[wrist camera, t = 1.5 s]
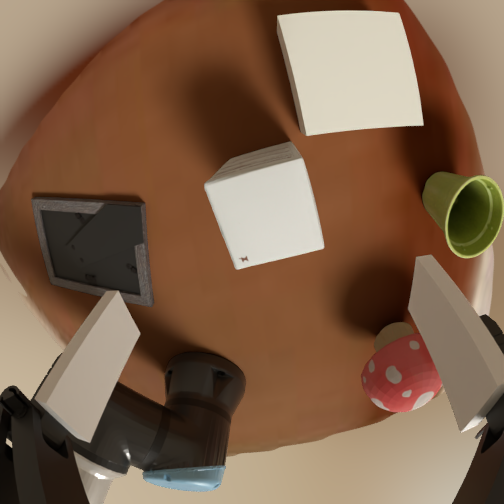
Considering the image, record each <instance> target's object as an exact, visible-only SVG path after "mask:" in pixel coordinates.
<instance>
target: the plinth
mask: <svg viewBox="0 0 504 504" xmlns="http://www.w3.org/2000/svg"><path fill="white" fill-rule="evenodd" d="M277 35H278V38H279V42H280V46H281V49H282V53H283V57H284V61H285V65H286V69H287V73H288V77H289V81H290V85H291V90H292V94H293V99H294V103H295V108H296V112H297V117H298V122H299V127H300V132H302V133H303V134H305V135H306V136H309V135H316V134H323V133H331V132H339V131H348V130H358V129H369V128H382V127H398V126H424V125H423V117H422V109H421V102H420V96H419V90H418V85H417V79H416V74H415V70H414V65H413V61H412V57H411V52H410V49H409V45H408V41H407V37H406V34H405V30H404V27H403V24H402V21H401V18H400V15H399V13H392V12H379V11H318V12H305V13H295V14H287V15H279V16H277Z"/></svg>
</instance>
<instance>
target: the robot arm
mask: <svg viewBox="0 0 504 504" xmlns="http://www.w3.org/2000/svg"><path fill="white" fill-rule="evenodd" d="M408 310H409V312H410V314H411V316H412V318H413V320H414V322H415V324H416V326H417V328H418V330H419V332H420V334H421V336H422V338H423V340H424V342H425V344H426V347H427V349H428V351H429V353H430V355H431V358H432V360H433V362H434V364H435V367H436V369H437V371H438V374H439V376H440V379H441V381H442V383H443V386H444V388H445V391H446V394H447V396H448V399H449V401H450V404H451V407H452V409H453V412H454V415H455V418H456V421H457V424H458V427H459V430H460V433H461V432H463V431H466V430H468V429H470V428H472V427H475V426H477V425H478V424H479V423H480V422H481V421H482V419H484V417H485V416H486V419H487V422H488V423H487V424H486V425H485V426H484V427H483V428H482V429H481V430H480V431H479V432H478V433H477V435H476V437H475V438H476V439H477V438H478V437H479V436H480V435H481V434H482V433H483V434H482V437H481V440H480V442H479V445H478V448H477V451H476V453H475V456H474V458H473V461H472V463H471V466H470V468H469V470H468V473H467V475H466V477H465V479H464V481H463V483H462V485H461V487H460V489H459V491H458V493H457V495H456V497H455V499H454V501H453V503H452V504H504V334H503V332H502V330H501V329H500V328H499V326H498V325H497V323H496V322H495V321H494V320H492V319H491V318H490V317H489V316H487V315H486V314H485V315H482V316H478V314H477V313H476V311H475V310H474V309H473V307H472V306H471V304H470V303H469V302H468V300H467V299H466V298H465V296H464V295H463V294H462V292H461V291H460V290H459V288H458V287H457V286H456V284H455V283H454V282H453V281H452V279H451V278H450V277H449V276H448V274H447V273H446V272H445V271H444V269H443V268H442V267H441V266H440V265H439V263H438V262H437V261H436V260H435V259H434V257H433V256H432V255H426V256H420V257H416V262H415V269H414V276H413V283H412V289H411V295H410V300H409V306H408ZM139 336H140V332H139V330H138V328H137V326H136V324H135V322H134V321H133V319H132V317H131V315H130V313H129V311H128V309H127V307H126V305H125V303H124V301H123V299H122V297H121V295H120V293H119V291H106V293H105V294H104V295H103V297H102V298H101V299H100V301H99V302H98V303H97V305H96V306H95V307H94V309H93V310H92V311H91V313H90V314H89V315H88V317H87V318H86V320H85V321H84V322H83V324H82V325H81V327H80V328H79V329H78V331H77V332H76V334H75V335H74V337H73V338H72V340H71V341H70V343H69V344H68V345H67V347H66V348H65V350H64V352H63V353H61V354H60V355H59V356H58V357H57V359H56V360H55V362H54V363H53V365H52V368H50V369H49V371H48V373H47V374H48V375H46V376H45V377H44V379H43V381H42V382H41V384H40V386H39V387H38V389H37V391H36V393H35V394H34V396H33V398H32V399H31V401H30V400H28V399H27V397H26V396H25V395H24V394H23V393H22V392H21V391H20V390H19V389H18V388H17V387H16V386H9V387H8V388H6V389H5V390H4V391H3V392H2V394H1V395H0V504H103V503H104V500H105V497H106V495H107V492H108V490H109V487H110V484H111V482H112V480H113V479H114V478H118V477H122V476H125V475H126V474H127V471H128V469H129V467H130V465H132V466H134V467H137V468H139V469H142V470H143V471H144V472H143V479H144V480H145V481H147V482H150V483H152V484H154V485H158V486H161V487H166V488H171V489H177V490H184V491H200V492H201V491H212V490H215V489H217V488H218V487H219V486H220V485H221V482H222V478H223V474H224V470H225V468H226V466H225V462H226V454H227V447H228V439H229V432H230V424H231V418H232V415H233V414H234V412H235V410H236V408H237V407H238V405H239V403H240V401H241V399H242V398H243V396H244V393H245V386H246V379H245V376H244V374H243V372H242V371H241V370H240V369H239V368H238V367H237V366H236V365H234V364H233V363H231V362H230V361H228V360H226V359H224V358H221V357H219V356H216V355H212V354H207V353H201V352H188V353H182V354H179V355H177V356H175V357H173V358H172V359H171V360H170V361H169V363H168V366H167V368H166V371H165V395H166V402H165V405H164V406H163V405H161V404H159V403H157V402H155V401H153V400H151V399H149V398H147V397H145V396H143V395H141V394H139V393H138V392H136V391H134V390H132V389H130V388H129V387H127V386H125V385H123V384H122V383H120V382H118V378H119V376H120V374H121V372H122V370H123V368H124V366H125V364H126V362H127V360H128V358H129V356H130V354H131V351H132V349H133V347H134V345H135V343H136V342H137V340H138V338H139ZM6 438H7V439H9V440H10V441H11V442H12V448H11V447H10V446H9V445H7V444H6Z"/></svg>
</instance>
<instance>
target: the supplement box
mask: <svg viewBox="0 0 504 504" xmlns="http://www.w3.org/2000/svg"><path fill="white" fill-rule="evenodd" d="M204 187H205V190H206V193H207V196H208V198H209V201H210V203H211V206H212V209H213V211H214V214H215V216H216V219H217V222H218V224H219V227H220V230H221V233H222V235H223V237H224V240H225V242H226V245H227V248H228V250H229V253H230V255H231V258H232V260H233V263H234V266H235V268H236V269H241V268H245V267H249V266H253V265H258V264H262V263H266V262H270V261H275V260H279V259H283V258H287V257H291V256H296V255H300V254H304V253H308V252H312V251H316V250H320V249H323V248H324V241H323V235H322V230H321V226H320V221H319V216H318V211H317V207H316V203H315V199H314V195H313V191H312V187H311V184H310V180H309V176H308V173H307V170H306V166H305V163H304V160H303V158H302V156H301V155H300V153H299V152H298V150H297V149H296V147H295V146H294V144H293V143H292V142H291V141H289V142H286V143H282V144H279V145H275V146H271V147H267V148H264V149H260V150H257V151H253V152H250V153H247V154H244V155H240V156H237V157H234V158H231V159H229V160H228V161H227V162H226V163H225V164H224V165H223V166H222V167H221V168H220V169H219V170H218V171H217V172H216V173H215V174H214V175H213V176H212V177H211V178H210V179H209V180H208V181H207V182H206V183H205V184H204Z"/></svg>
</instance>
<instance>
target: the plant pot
mask: <svg viewBox="0 0 504 504" xmlns="http://www.w3.org/2000/svg"><path fill="white" fill-rule="evenodd" d="M422 200H423V205H424V207H425V209H426V210H427V212H428V213H429V214H430V215H431V217H432V218H433V219H434V220H435V221H436V223H437V224H438V225H439V226H440V228H441V229H442V230H443V232H444V234H445V238H446V241H447V244H448V246H449V247H450V249H451V250H452V251H453V252H454V253H455V254H456V255H457V256H459V257H462V258H471V257H475V256H478V255H480V254H481V253H483V252H484V251H485V250H486V249H487V248H489V246H490V245H491V244H492V243H493V241H494V240H495V238H496V237H497V235H498V233H499V231H500V228H501V225H502V222H503V216H504V201H503V196H502V193H501V190H500V188H499V186H498V185H497V183H496V182H495V181H494V180H492V179H491V178H489V177H487V176H484V175H476V176H472V177H465V176H461V175H457V174H452V173H448V172H437V173H435V174H433V175H432V176H431V177H430V178H429V179H428V180H427V181H426V183H425V188H424V191H423V194H422Z"/></svg>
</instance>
